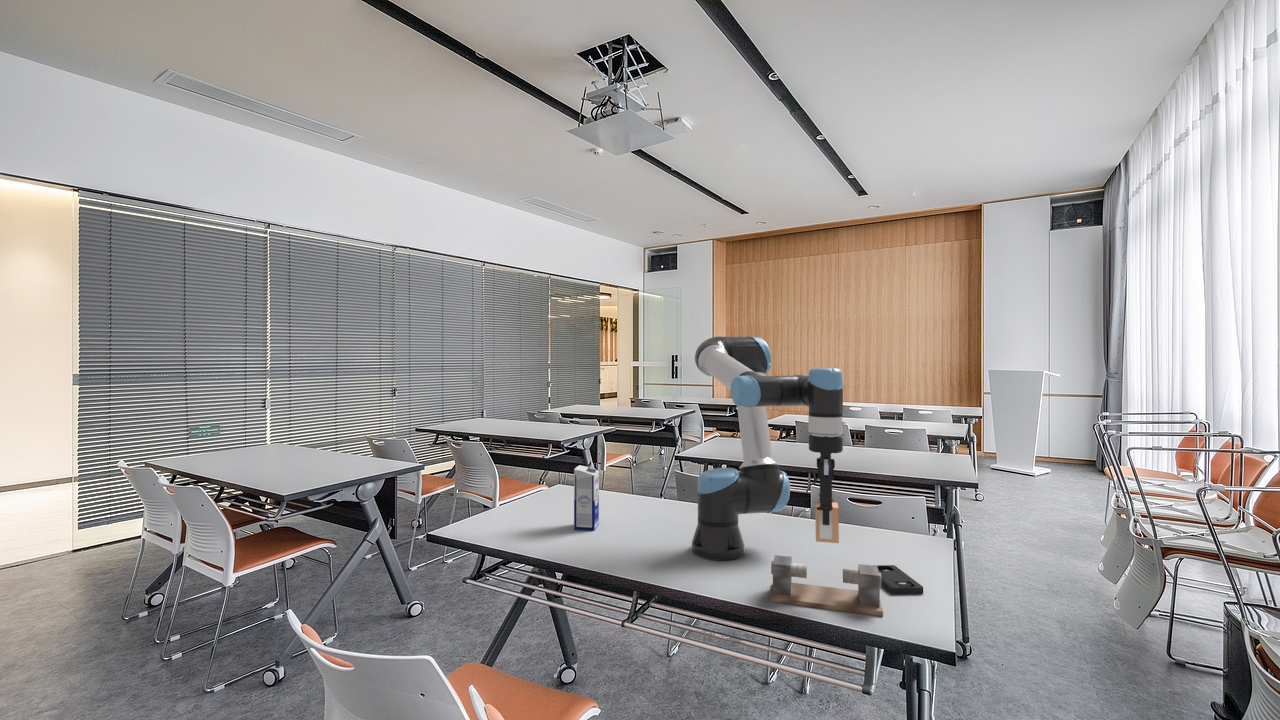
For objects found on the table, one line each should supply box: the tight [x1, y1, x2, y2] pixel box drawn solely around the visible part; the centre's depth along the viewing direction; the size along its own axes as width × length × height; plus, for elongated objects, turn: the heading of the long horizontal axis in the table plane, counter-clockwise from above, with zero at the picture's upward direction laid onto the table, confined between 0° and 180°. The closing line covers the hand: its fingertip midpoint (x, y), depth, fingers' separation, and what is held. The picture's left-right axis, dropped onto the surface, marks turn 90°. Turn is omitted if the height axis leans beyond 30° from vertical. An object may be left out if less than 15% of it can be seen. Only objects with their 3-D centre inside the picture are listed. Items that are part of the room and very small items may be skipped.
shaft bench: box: [769, 554, 884, 617], centre depth 129 cm, size 24×10×8 cm, turn 72°
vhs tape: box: [872, 564, 924, 596], centre depth 139 cm, size 14×8×2 cm, turn 2°
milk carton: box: [573, 464, 600, 532], centre depth 183 cm, size 7×7×20 cm
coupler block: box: [814, 500, 840, 544], centre depth 129 cm, size 5×5×8 cm
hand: (825, 534), depth 129 cm, fingers closed on coupler block, 5 cm apart
